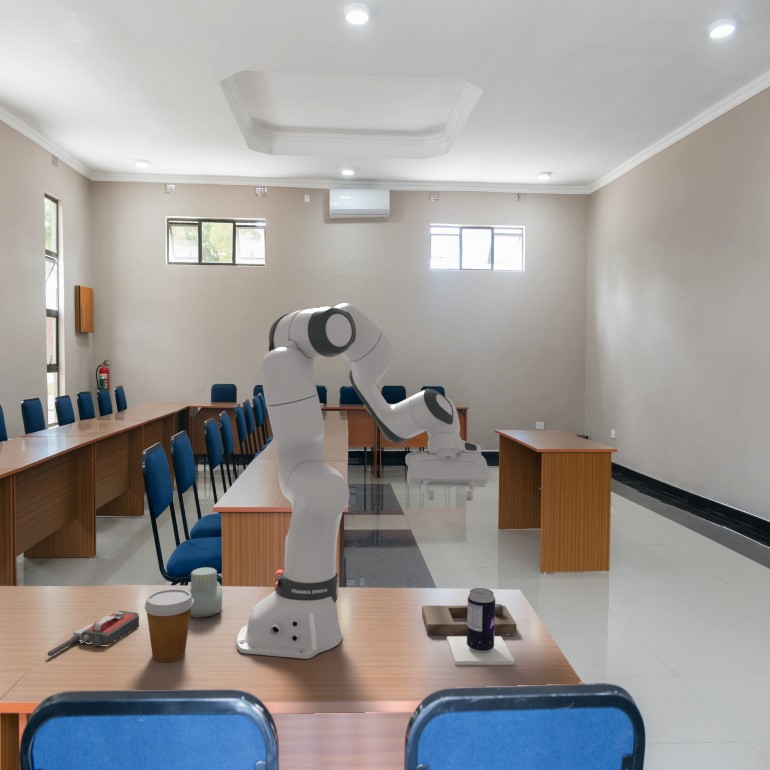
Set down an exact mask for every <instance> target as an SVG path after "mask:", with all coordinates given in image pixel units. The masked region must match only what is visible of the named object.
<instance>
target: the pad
mask: <svg viewBox="0 0 770 770" xmlns="http://www.w3.org/2000/svg"><path fill="white" fill-rule="evenodd" d="M446 642H447V646H448V647H449V650H450V653H451V656H452V660H453V663H454V665H455V666H504V665H505V666H507V665H508V666H511V665H512V666H513V665H515V660H514V657H513V656H512V654H511V652H510V650H509V649H508V646H507V644H506V643H505V641H504V639H503V637H502V635H494V647H493V648H492V649H491V650H490V651H489V652H487V653H477V652H474V651H472V650H471V649H470V647H469V646H468V645H467V635H447V636H446Z"/></svg>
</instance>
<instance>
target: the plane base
mask: <svg viewBox="0 0 770 770" xmlns="http://www.w3.org/2000/svg"><path fill="white" fill-rule="evenodd" d="M421 607H422V609H421V616H422V621H423V625H424V628H425V632H426V636H467V621H454V619H467V613H468V605H421ZM506 634H507V635H506ZM508 634H509V635H508ZM510 634H511V635H510ZM512 634H516V635H517V623H516V621H515V619H514V618H513V616H512V614H511V613H510V611H509V610H508V608H507V607H506V605H503V604H499V603H495V629H494V636H513V635H512Z"/></svg>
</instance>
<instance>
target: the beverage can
mask: <svg viewBox="0 0 770 770" xmlns="http://www.w3.org/2000/svg"><path fill="white" fill-rule="evenodd" d="M495 604H496V597H495V595H494V591H493V590H491V589H488V588H484V587H483V588H482V587H475V588H472V589H470V590H469V594H468V596H467V606H468V613H467V618H466V622H467V635H466V636H467V645H468V646H469V647H470V649H471V650H472V651H474V652H477V653H487V652H489V651H490V650H491V649H492V648H493V647H494V636H495V635H494V629H495Z"/></svg>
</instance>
